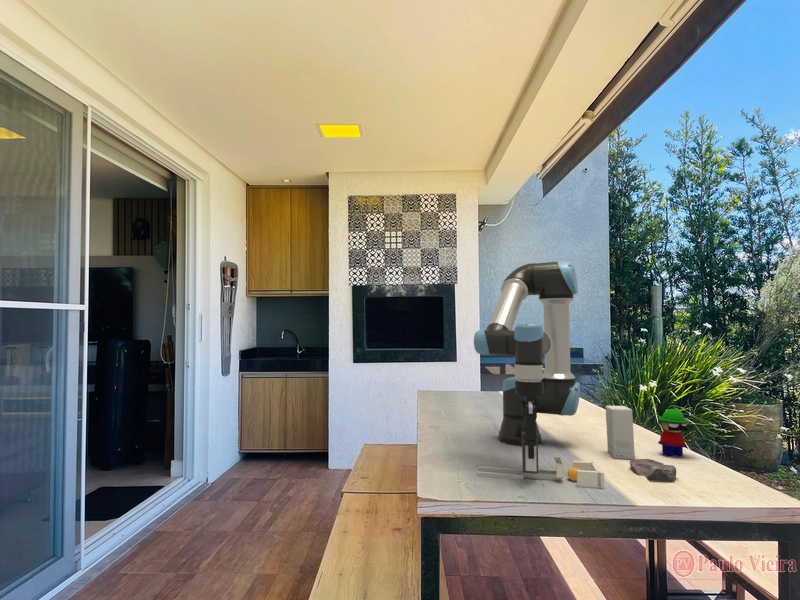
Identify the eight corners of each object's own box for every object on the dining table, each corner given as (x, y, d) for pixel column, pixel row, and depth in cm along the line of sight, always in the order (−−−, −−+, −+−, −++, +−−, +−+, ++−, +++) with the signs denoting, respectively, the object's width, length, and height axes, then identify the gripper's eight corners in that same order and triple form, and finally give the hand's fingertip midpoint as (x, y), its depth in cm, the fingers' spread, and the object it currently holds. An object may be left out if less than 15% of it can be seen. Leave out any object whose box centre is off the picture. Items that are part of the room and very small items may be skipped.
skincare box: (635, 460, 142) (633, 409, 143) (612, 459, 143) (611, 408, 144) (627, 453, 150) (626, 405, 151) (606, 451, 151) (604, 404, 152)
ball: (586, 477, 119) (576, 486, 119) (578, 467, 122) (568, 475, 122) (581, 473, 117) (570, 481, 117) (572, 462, 120) (562, 471, 120)
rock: (683, 484, 120) (682, 467, 121) (636, 481, 123) (636, 464, 123) (671, 475, 128) (670, 458, 129) (627, 472, 131) (627, 456, 131)
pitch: (468, 485, 119) (468, 476, 119) (472, 469, 132) (472, 461, 132) (608, 497, 111) (608, 487, 111) (597, 478, 124) (597, 470, 125)
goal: (577, 487, 115) (577, 471, 115) (572, 475, 124) (572, 460, 124) (604, 489, 113) (604, 473, 113) (597, 477, 122) (596, 462, 123)
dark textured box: (522, 479, 119) (522, 435, 120) (522, 472, 125) (521, 430, 126) (563, 482, 117) (562, 437, 118) (560, 475, 123) (559, 432, 124)
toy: (686, 453, 150) (685, 407, 150) (694, 460, 141) (693, 412, 142) (655, 451, 152) (654, 405, 153) (662, 458, 144) (660, 410, 145)
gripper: (546, 385, 113) (548, 479, 111) (541, 376, 132) (542, 456, 131) (515, 384, 114) (516, 476, 113) (514, 375, 134) (515, 454, 133)
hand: (530, 465), depth 122 cm, fingers open, 8 cm apart
